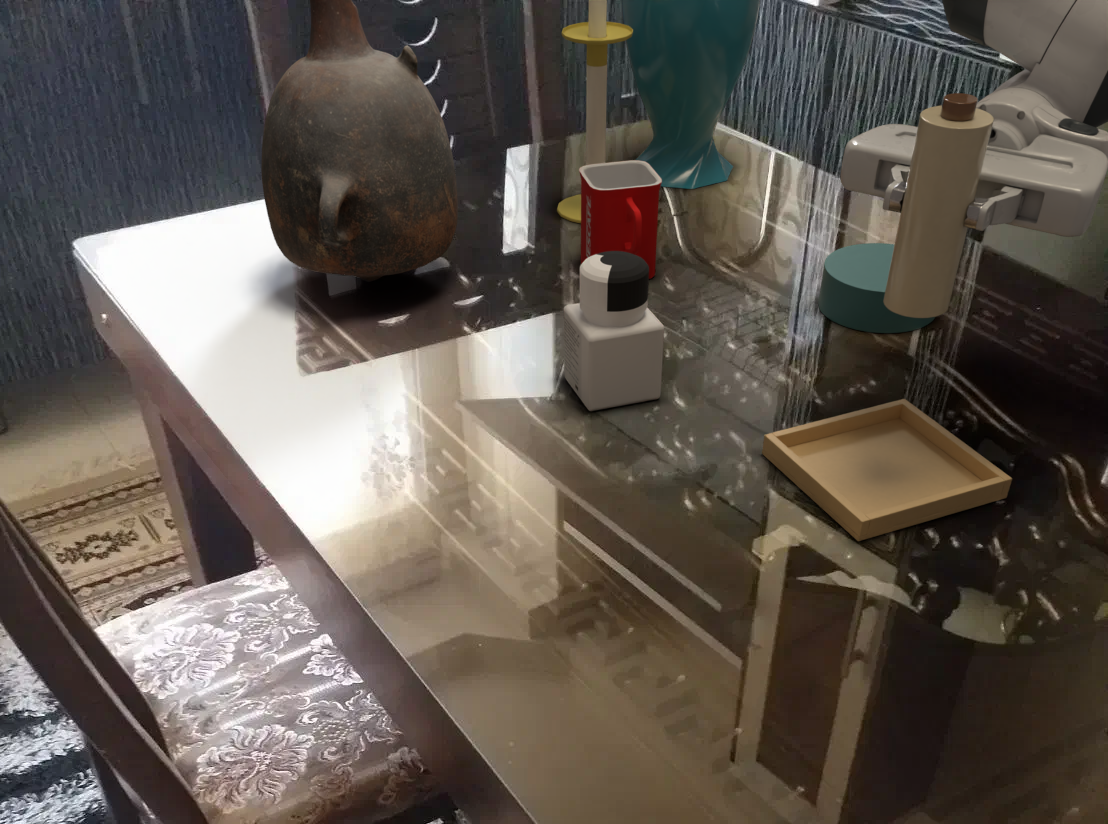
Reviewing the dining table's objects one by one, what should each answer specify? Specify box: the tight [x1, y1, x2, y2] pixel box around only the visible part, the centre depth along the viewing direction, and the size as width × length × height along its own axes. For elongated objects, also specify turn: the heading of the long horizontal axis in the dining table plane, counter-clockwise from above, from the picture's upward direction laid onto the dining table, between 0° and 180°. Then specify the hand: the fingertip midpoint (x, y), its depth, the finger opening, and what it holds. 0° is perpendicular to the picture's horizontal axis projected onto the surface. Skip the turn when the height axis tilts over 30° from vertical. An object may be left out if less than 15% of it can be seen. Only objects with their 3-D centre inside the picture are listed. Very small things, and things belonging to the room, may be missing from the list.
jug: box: [260, 0, 459, 283], centre depth 125 cm, size 24×21×30 cm
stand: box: [817, 242, 936, 334], centre depth 127 cm, size 13×13×4 cm
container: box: [563, 251, 665, 412], centre depth 112 cm, size 8×8×13 cm
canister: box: [883, 92, 994, 318], centre depth 88 cm, size 5×5×15 cm
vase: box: [621, 0, 761, 190], centre depth 149 cm, size 17×17×30 cm
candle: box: [556, 0, 633, 224], centre depth 137 cm, size 10×10×38 cm
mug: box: [578, 159, 662, 280], centre depth 132 cm, size 12×8×11 cm
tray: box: [761, 398, 1013, 542], centre depth 103 cm, size 16×16×2 cm
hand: (933, 210), depth 87 cm, fingers closed on canister, 5 cm apart
